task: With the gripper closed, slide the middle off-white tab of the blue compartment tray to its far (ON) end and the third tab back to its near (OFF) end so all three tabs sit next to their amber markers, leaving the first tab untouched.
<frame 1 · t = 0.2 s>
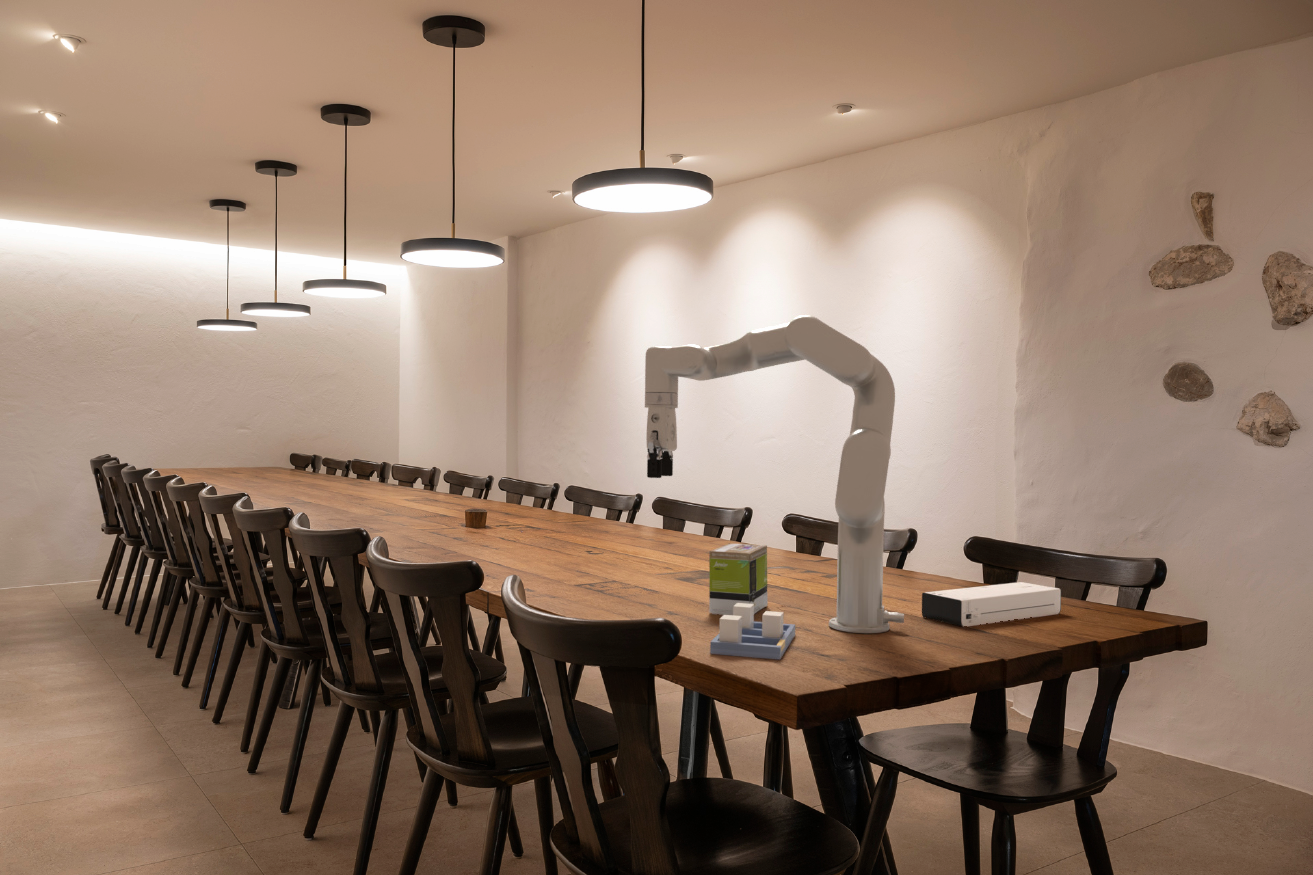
hand: (660, 476, 205), 31 cm above the table, tool pointing down, fingers open, 9 cm apart
tea box: (738, 611, 210), on the table
blue compartment tray: (754, 643, 176), on the table
tab a: (743, 617, 183), point 4 cm above the table, slide at 7.0 cm
tab c: (730, 630, 171), point 4 cm above the table, slide at 7.0 cm
laminator: (994, 618, 208), on the table
tab b: (772, 626, 175), point 4 cm above the table, slide at 0.0 cm
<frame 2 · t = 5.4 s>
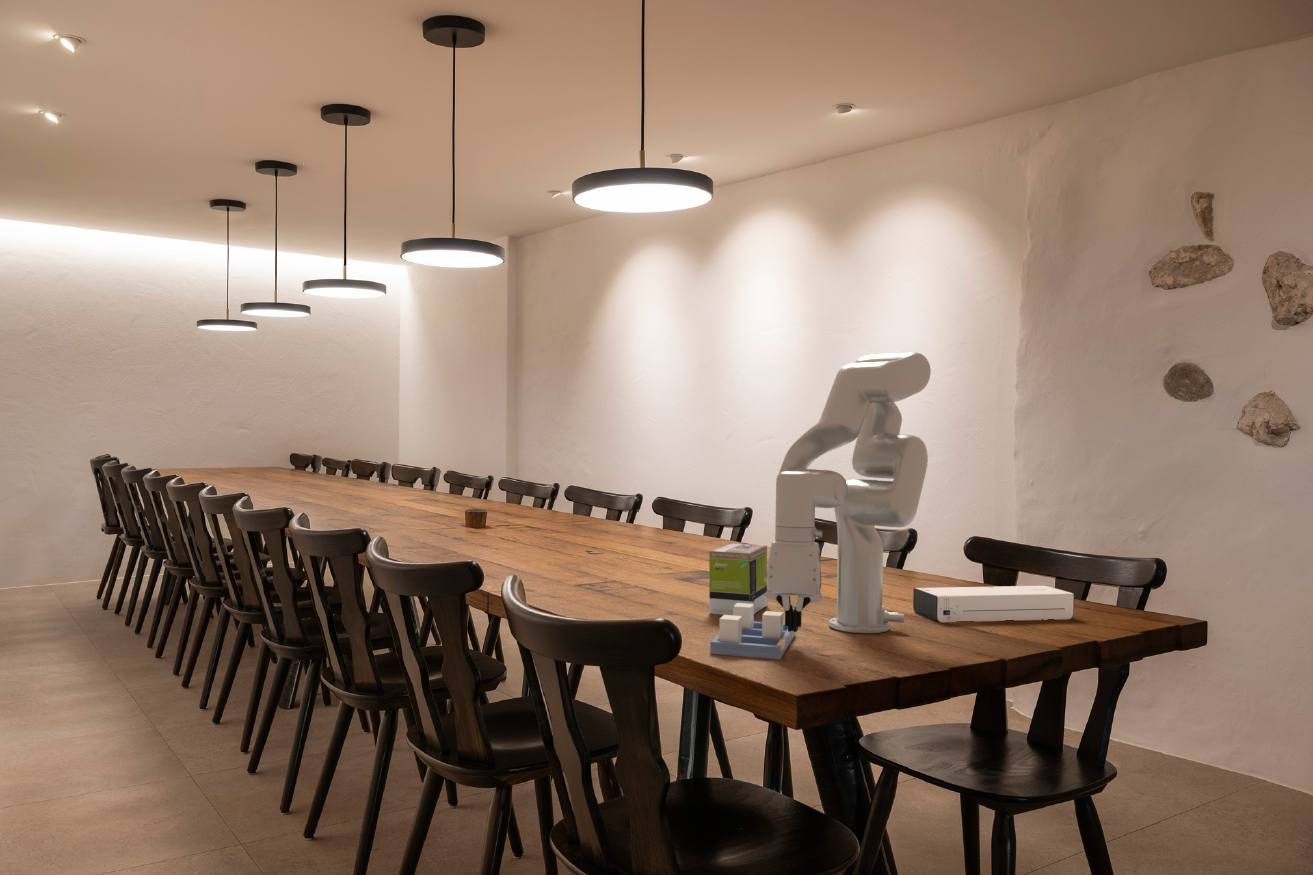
hand: (793, 630, 174), 3 cm above the table, tool pointing down, fingers closed
tab b: (772, 626, 175), point 4 cm above the table, slide at 0.0 cm, touching gripper
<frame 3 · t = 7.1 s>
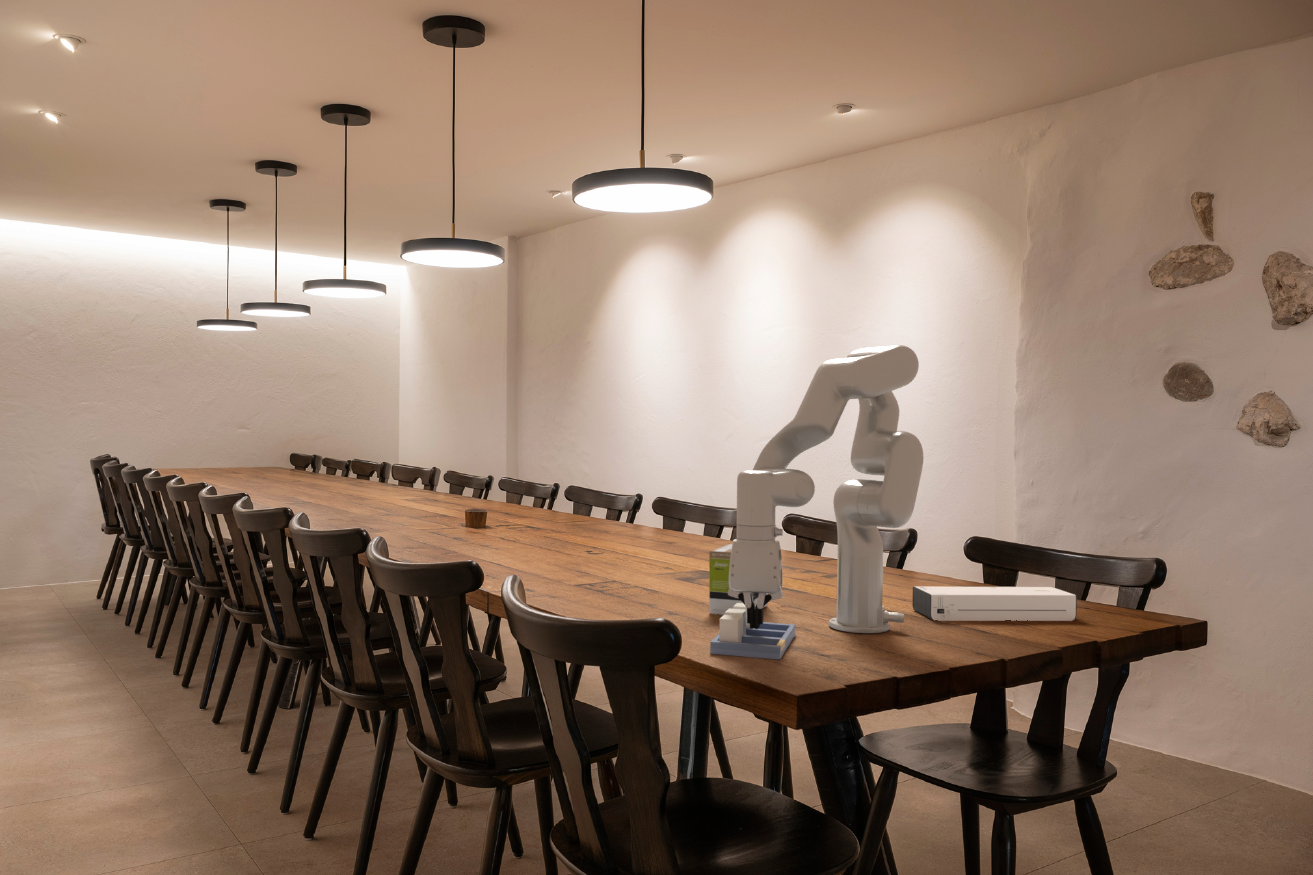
hand: (754, 627, 176), 3 cm above the table, tool pointing down, fingers closed
tab b: (735, 623, 177), point 4 cm above the table, slide at 7.4 cm, touching gripper, blue compartment tray
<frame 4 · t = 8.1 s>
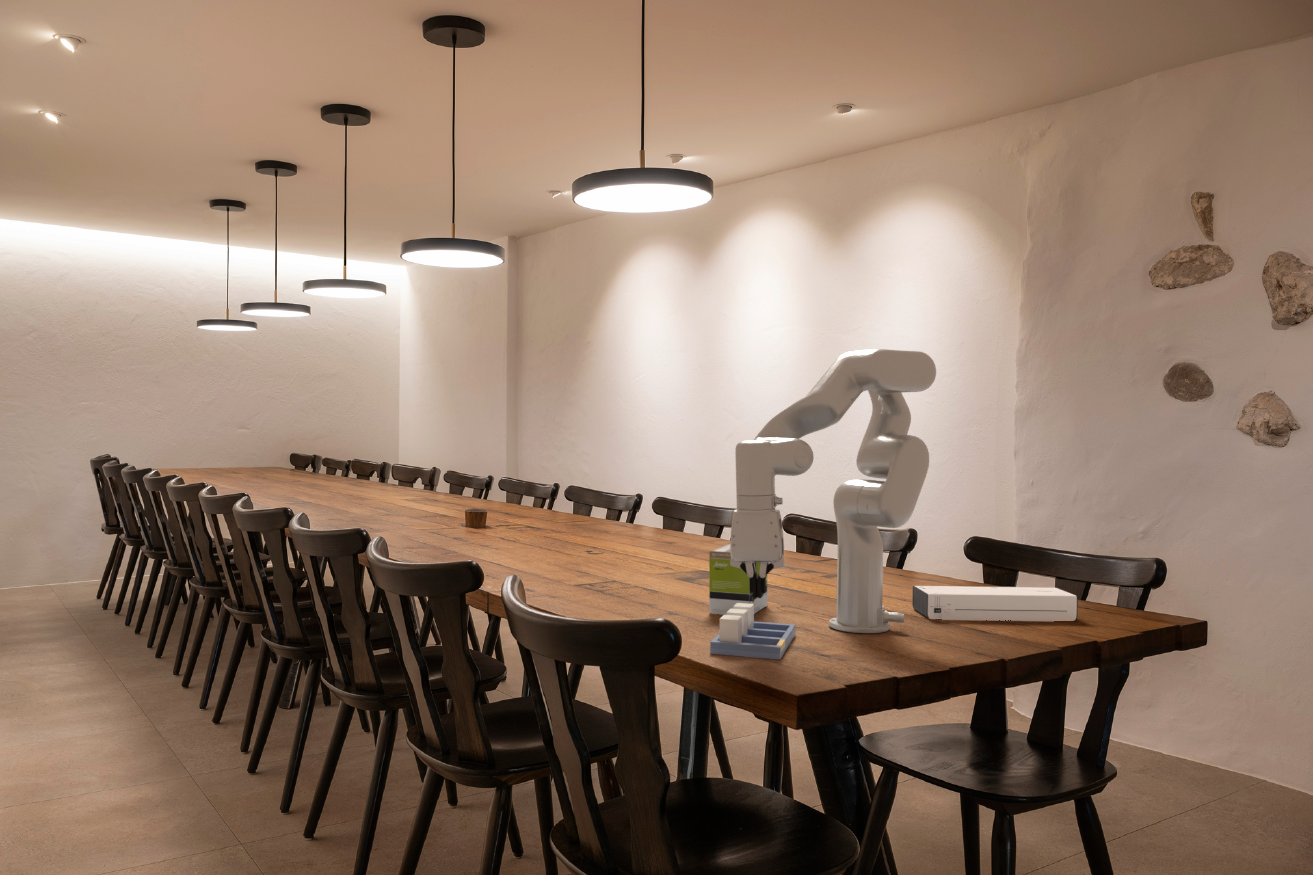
hand: (758, 596, 177), 9 cm above the table, tool pointing down, fingers closed
tab b: (737, 623, 177), point 4 cm above the table, slide at 7.1 cm
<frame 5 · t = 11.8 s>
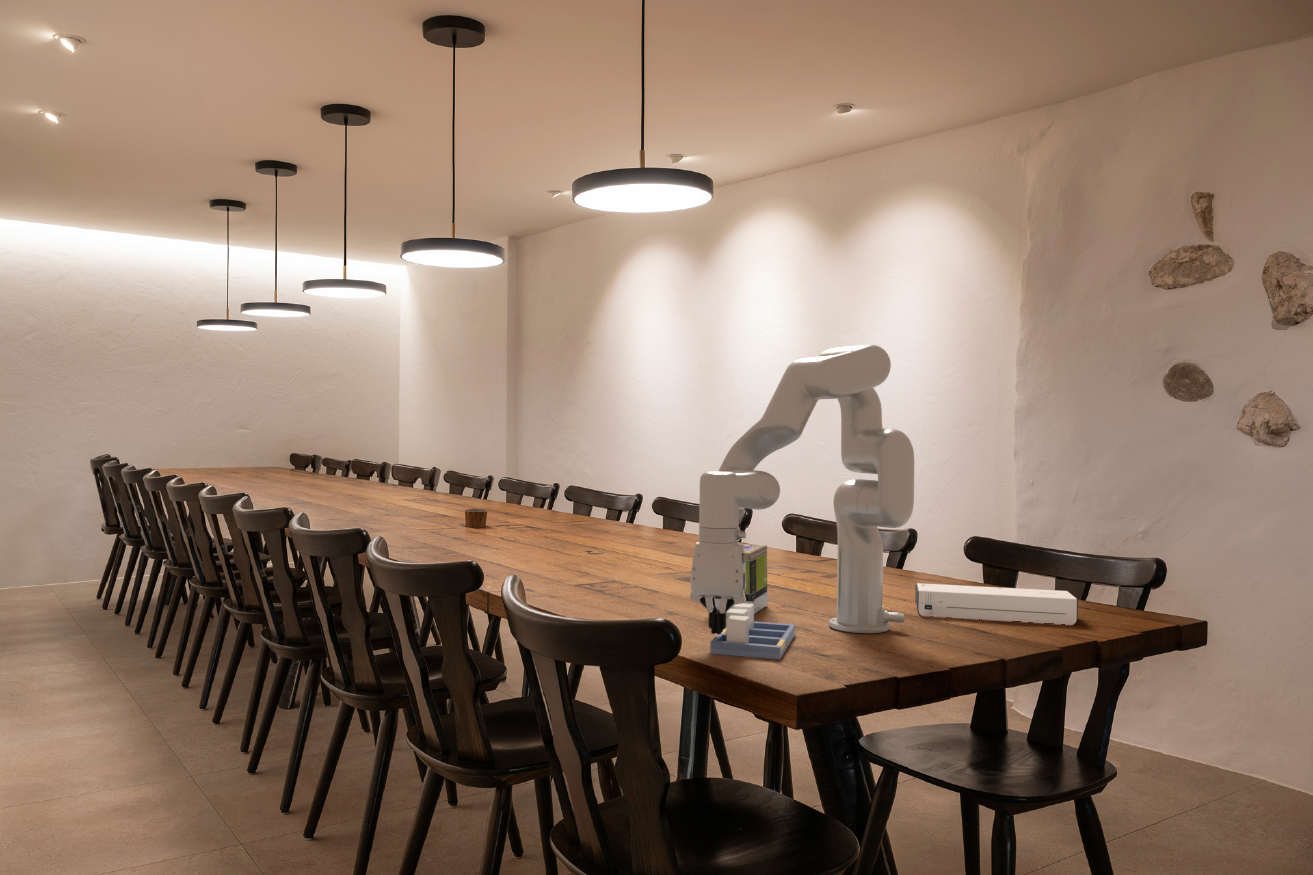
hand: (717, 632, 172), 3 cm above the table, tool pointing down, fingers closed
tab c: (738, 631, 171), point 4 cm above the table, slide at 5.6 cm, touching gripper
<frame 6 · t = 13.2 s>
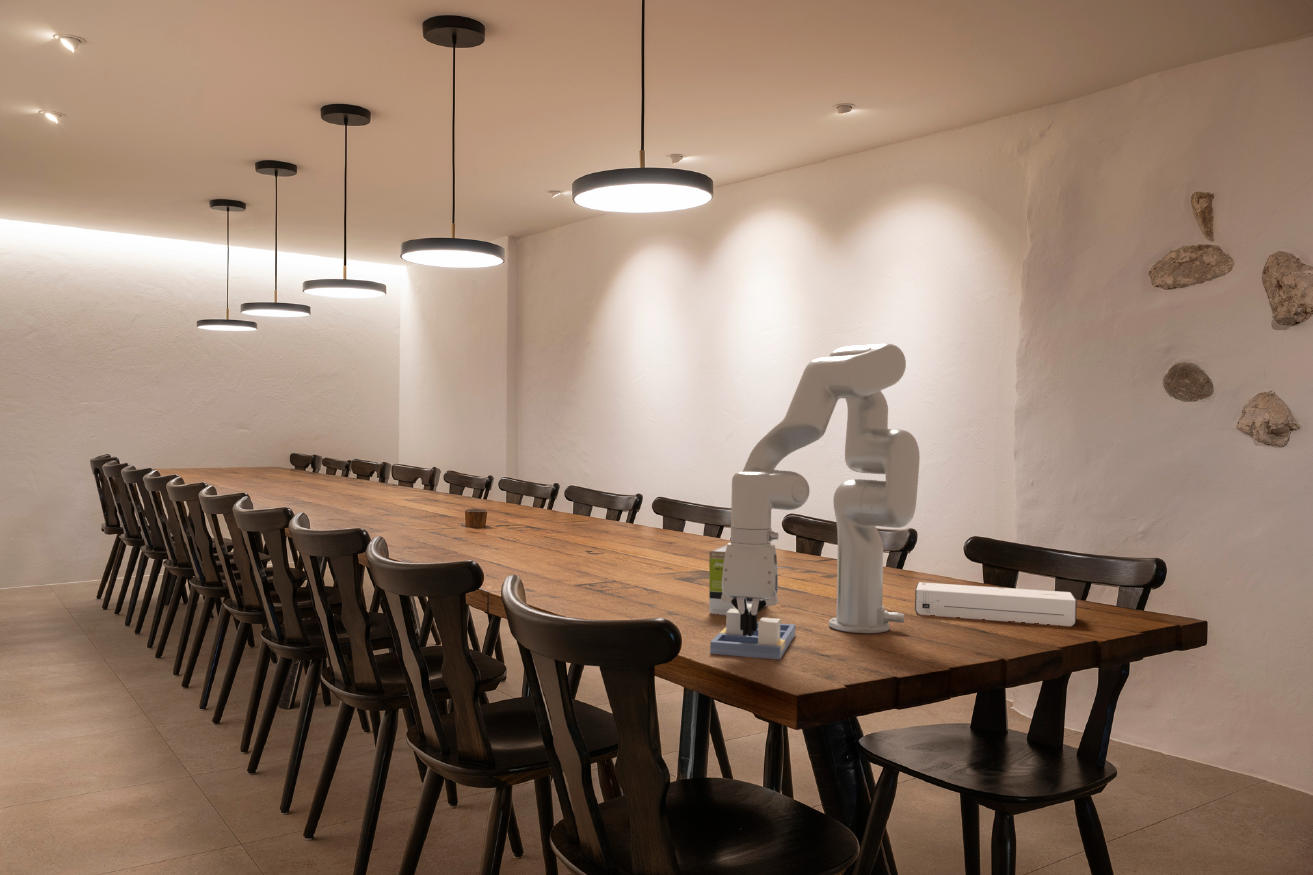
hand: (748, 634, 170), 3 cm above the table, tool pointing down, fingers closed
tab c: (769, 633, 169), point 4 cm above the table, slide at -0.4 cm, touching gripper, blue compartment tray
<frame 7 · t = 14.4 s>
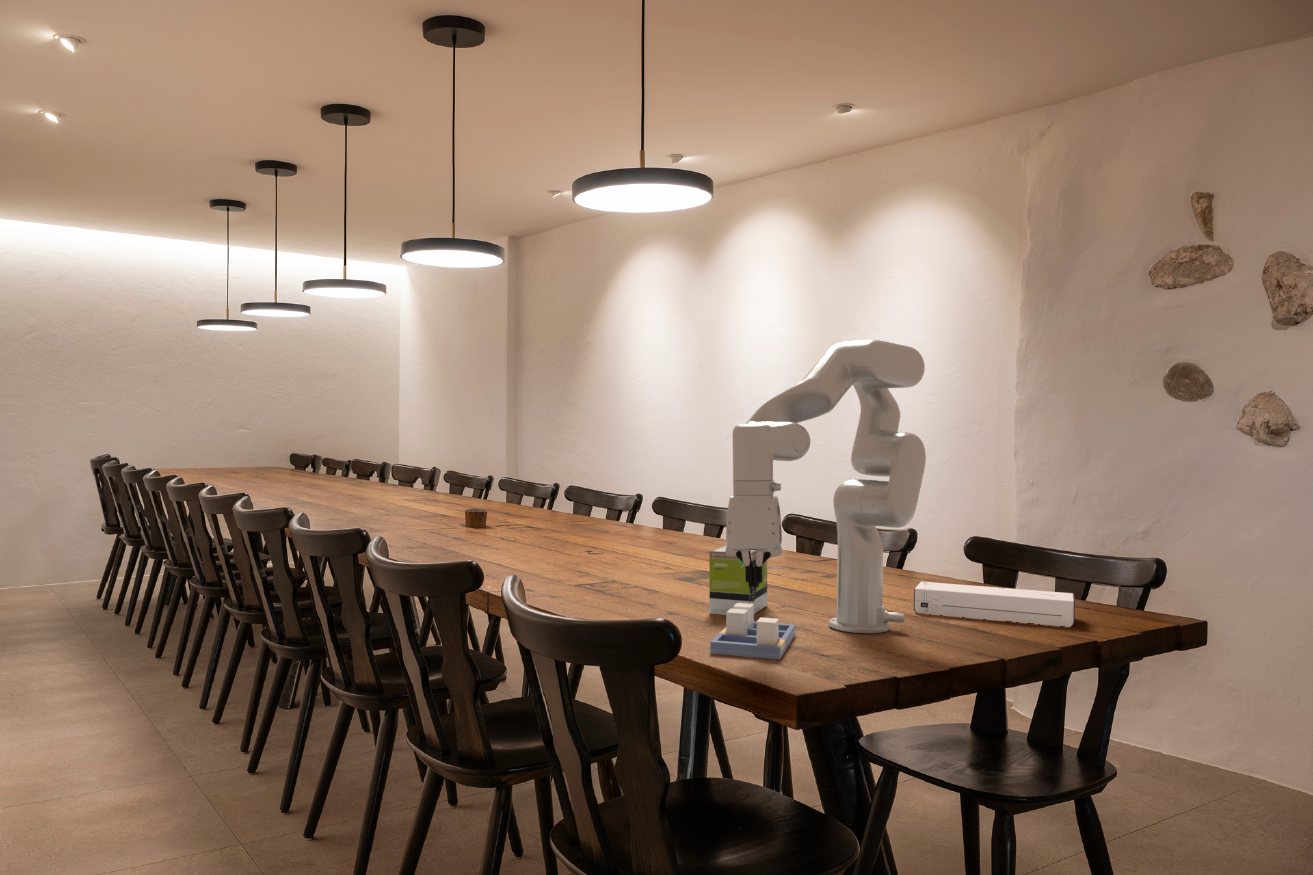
hand: (754, 585, 170), 12 cm above the table, tool pointing down, fingers closed
tab c: (767, 633, 169), point 4 cm above the table, slide at -0.1 cm
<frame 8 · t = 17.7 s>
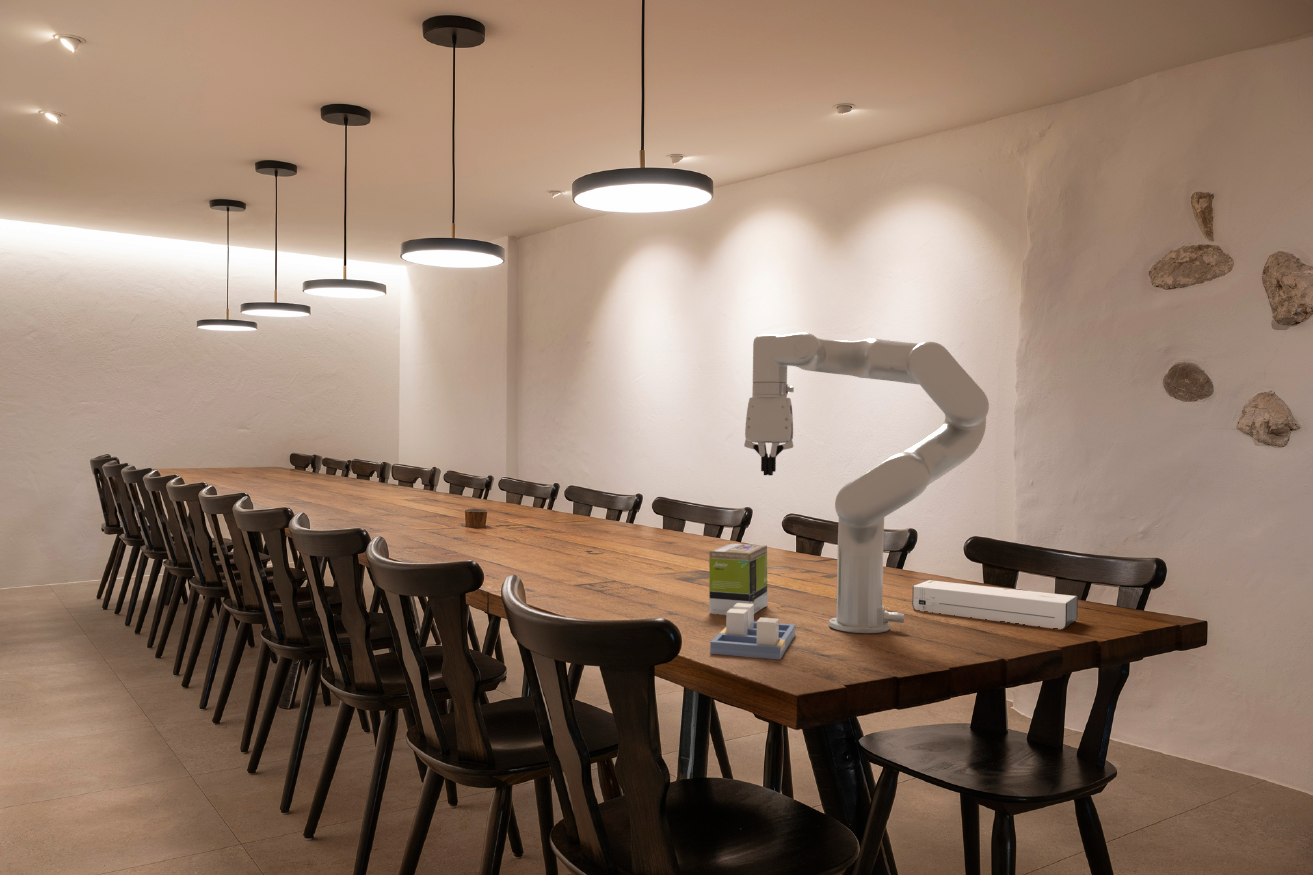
hand: (768, 474, 198), 32 cm above the table, tool pointing down, fingers closed
at the end: tab b slide at 7.1 cm; tab c slide at -0.1 cm; tab a slide at 7.0 cm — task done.
